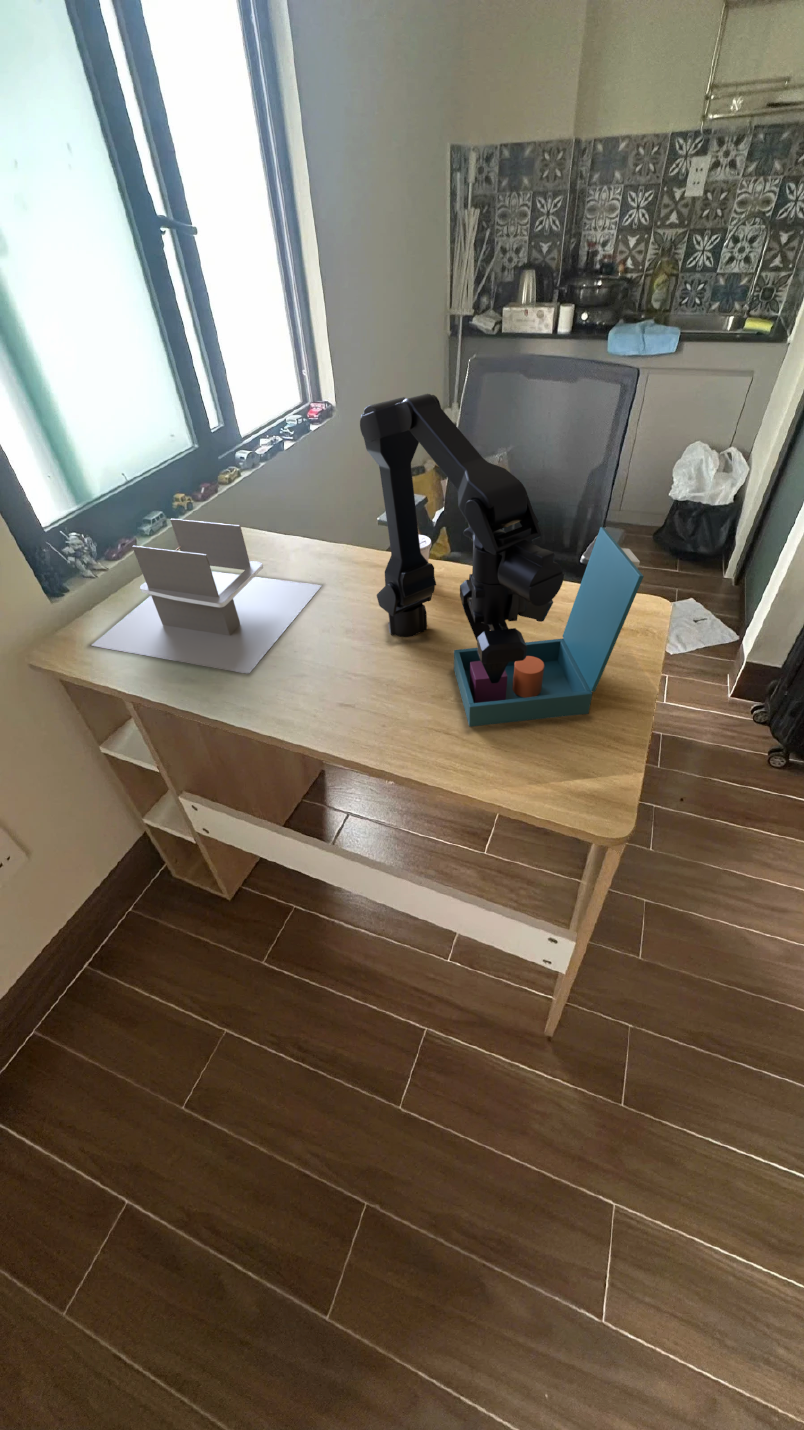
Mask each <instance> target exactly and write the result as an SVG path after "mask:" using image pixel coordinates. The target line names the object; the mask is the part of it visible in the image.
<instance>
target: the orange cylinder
mask: <svg viewBox="0 0 804 1430" xmlns="http://www.w3.org/2000/svg"><path fill="white" fill-rule="evenodd" d="M543 672H544V663H543V661H542V660H540V659H539V658H537V657H533V656H526V658H525V659H524V660H523V661H515V664H514V676H513V687H512V688H513V691H514V693H515V694H516V695H518V696H520V697H524V698H527V697H536V696H537V695H539V694H540V692H541V688H542V680H543Z"/></svg>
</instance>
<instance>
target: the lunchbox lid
mask: <svg viewBox="0 0 804 1430" xmlns="http://www.w3.org/2000/svg"><path fill="white" fill-rule="evenodd" d="M640 563H641V562H640V560H639V559H638V558H637V556H636V555H635V554H634V553H633V551H632V550H631V549H630V548H625V547H621V546H620V545H619V543H618V542H617V541H616V540H615V538H613V536H612V535H611V534H610V532H608V530H607V529H606V527H604V526H600V527H599V530H598V533H597V536H596V539H595V542H594V544H593V547H592V550H591V553H590V556H589V559H588V562H587V565H586V568H585V570H584V572H583V576H582V579H581V582H580V585H579V588H578V590H577V593H576V595H575V599H574V603H573V605H572V608H571V610H570V614H569V616H568V619H567V622H566V624H565V627H564V631H563V633H562V638H563V639H564V641H565V642H566V644H567V646H568V648H569V650H570V652H571V654H572V656H573V658H574V660H575V661H576V663H577V665H578V667H579V669H580V671H581V673H582V675H583V677H584V679H585V681H586V682H587V684H588V686H589V688H590V690H591V692H592V693H595V692H596V690H597V688H598V686H599V683H600V680H601V679H602V676H603V674H604V672H605V669H606V667H607V665H608V662H609V660H610V657H611V654H612V652H613V650H614V648H615V646H616V643H617V640H618V638H619V637H620V634H621V631H622V629H623V626H624V624H625V622H626V619H627V617H628V615H629V613H630V610H631V608H632V605H633V603H634V600H635V598H636V596H637V594H638V591H639V589H640V586H641V584H642V582H643V580H644V575H643V573H642V572H641V571H640V570H639V565H640Z"/></svg>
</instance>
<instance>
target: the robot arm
mask: <svg viewBox="0 0 804 1430" xmlns="http://www.w3.org/2000/svg"><path fill="white" fill-rule="evenodd" d="M440 402H441V401H440V400H439V399H438V397H437V396H436V395H435V394H431V393H424V394H419V395H415V396H411V397H408V398H407V397H405V396H402V397H397V398H394V399H389V400H386V401H382V402H378V403H374V404H369V405H366V407H364V410H363V413H362V414H361V415H360V420H359V428H360V429H359V430H360V433H361V436H362V437H363V441H364V445H365V449H366V451H367V452H368V454H369V455H370V456H371V458H372V459H373V460H374V462H375V463H376V464H377V466H378V469H379V476H380V483H381V490H382V495H383V497H382V498H383V503H384V510H385V517H386V518H385V519H386V525H387V526H386V527H387V532H388V539H389V546H390V547H389V548H390V554H391V555H390V558H389V559H388V562H387V565H386V567H385V570H384V585H385V586H384V587H383V588H382V589H381V590H380V591H378V593H377V594H376V599H377V602H378V606H379V607H380V608H381V609H382V610H384V611H385V612H386V613H387V614H388V632H389V634H390V635H391V636H397V637H400V638H412V637H414V636H417V635H418V634H420V633H424V632H426V631H427V630H428V616H427V615H428V614H427V613H428V612H427V609H426V605H425V603H427V602H431V601H432V598H433V594H434V593H435V591H436V590H435V589H436V586H437V581H436V577H435V566H434V565H433V563H431V562H429V561H427V560H426V559H425V558H424V557H423V555H422V554H421V551H420V543H419V535H420V534H419V525H418V517H417V508H416V498H415V488H414V481H413V479H414V478H413V470H412V469H413V468H412V463H413V459H414V457H415V454H416V452H417V449H418V446H419V445H420V446H421V447H422V448H423V450H425V452H426V454H428V455H429V457H430V459H432V461H433V462H434V463H435V464H436V466H437V467H438V468H439V469H440V470H441V472H442V473H443V474H444V475H445V476H446V478H447V479H448V480H449V482H450V483H451V484H452V485H453V487H454V488H455V491H456V492H457V501H458V502H457V504H458V508H459V509H458V510H460V512H461V514H462V515H463V517H464V519H465V520H466V522H467V524H468V525H469V526H468V527H467V528H465V529H464V530H463V531H462V534H463V535H464V536H465V537H466V538H469V540H472V568H471V569H472V572H471V573H470V574H469V575H468V579H465V580H464V581H463V582H462V583H461V584H459V598H460V601H461V605H462V610H463V611H464V614H465V616H466V619H467V621H468V624H469V626H470V628H471V631H472V633H473V635H474V638H475V641H476V648H478V649H477V652H478V655H479V658H480V661H481V662H482V664H483V666H484V668H485V671H486V673H487V675H488V677H489V679H490V681H491V683H498V682H499V681H500V679H501V676H502V674H503V672H504V670H505V668H506V666H507V665H508V663H509V662H513V661H523V660H524V659H525V658H526V653H527V645H526V643H525V642H526V641H525V638H524V635H523V634H522V632H521V631H519V630H518V629H517V628H516V627H512V628H509V627H508V624H507V622H506V621H508V622H517V621H518V617H521V618H522V617H523V618H526V619H531V620H536V622H541V623H542V622H544V621H545V620H546V618H547V615H548V614H549V612H550V610H551V608H552V606H553V604H554V601H553V600H554V599H555V597H556V596H557V595H558V593H559V592H560V590H561V589H562V586H563V583H564V579H565V573H564V572H563V568H562V566H561V565H560V563H558V562H556V561H555V553H554V552H553V551H551V550H549V549H547V548H543V547H540V546H538V545H536V544H534V543H533V541H534V540H536V539H537V540H538V539H539V538H541V537H542V532H541V529H540V526H539V520H538V517H537V515H536V513H535V512H534V508H533V505H532V503H531V500H530V498H529V495H528V491H527V489H526V487H525V485H524V483H522V481H521V480H520V479H518V478H517V477H516V476H515V475H514V474H512V473H511V471H509V470H508V469H506V468H505V467H502V466H500V465H496V464H494V463H491V462H489V461H487V459H485V458H484V457H483V456H482V454H480V453H479V451H478V450H477V449H476V448H475V446H474V445H473V444H472V443H471V442H470V440H468V438H467V437H466V436H465V435H464V434H463V433H462V431H461V430H460V429H459V428H458V426H457V425H456V424H455V423H454V422H453V420H452V419H451V418H450V417H449V416H448V415H447V413H446V412H445V411H444V410H443V408H442V405H441V403H440ZM518 523H519V524H520V527H517V528H514V529H511V530H509V531H505V530H503V529H505V528H508V527H510V526H513V525H515V524H516V525H517V524H518Z"/></svg>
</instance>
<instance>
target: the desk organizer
mask: <svg viewBox="0 0 804 1430" xmlns="http://www.w3.org/2000/svg"><path fill="white" fill-rule="evenodd" d="M169 521H170V524H171V526H172V529H173V532H174V536H175V539H176V542H177V544H178V547H177V548H176V549H175V550H173V549H166V548H164V549H163V548H157V547H156V548H155V547H150V546H140V545H132V546H131V548H132V549H133V553H134V555H135V558H136V561H137V563H138V566H139V568H140V570H141V571H140V572H141V573H142V576H143V578H144V581H145V582H143V583H142V584H141V585H140V586H139V590H140V593H143V594H146V595H149V596H148V597H147V598H146V599H144V601H142V602H141V603H140V604H138V606H136V607H135V608H133V610H132V611H130V612H129V613H128V614H127V615H125V616H124V617H123V618H122V619H121V620H119V622H117V623H116V624H114V625H113V626H112V627H111V628H110V629H109V630H108V631H106V632H105V633H104V634H103V635H101V636H100V637H99V638H98V639H97V640H95V641H94V642H93V643H92V644H90V646H91V647H95V648H102V649H107V650H113V651H118V652H119V651H120V652H124V653H129V654H134V655H141V656H147V657H153V658H157V659H164V660H170V661H175V662H180V663H184V664H185V663H186V664H191V665H197V666H203V667H208V668H212V669H213V668H214V669H220V670H225V671H231V672H236V673H242V674H247V675H248V674H250V673H251V672H252V671H253V670H254V668H255V667H256V666H257V665H258V664H259V663H260V661H261V660H262V659H263V657H264V656H265V655H266V654H267V653H268V651H269V650H270V649H271V648H272V647H273V645H274V644H275V643H276V642H277V641H278V639H279V638H280V637H281V636H282V635H283V633H284V632H285V631H286V630H287V628H289V626H290V625H291V624H292V622H293V621H294V620H295V619H296V618H297V617H298V615H299V614H300V613H301V611H302V610H304V608H305V607H306V606H307V604H308V603H309V602H310V601H311V599H312V598H313V597H314V596H315V594H317V592H318V591H319V590H320V588H321V587H322V586H323V585H322V584H316V583H306V582H300V581H293V580H292V581H291V580H284V579H275V578H269V577H260V576H257V575H258V574H259V573H260V572H261V571H262V570H263V569H264V565H263V562H261V561H253V560H250V558H249V554H248V550H247V545H246V542H245V538H244V534H243V531H242V527H241V524H231V523H220V522H212V521H211V522H210V521H202V520H201V521H199V520H191V519H190V520H188V519H181V518H180V519H179V518H170V519H169ZM211 567H218V568H225V569H234V570H241V571H242V572H241V573H240V574H236V573H228V572H221V571H213V570H212V568H211Z"/></svg>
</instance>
